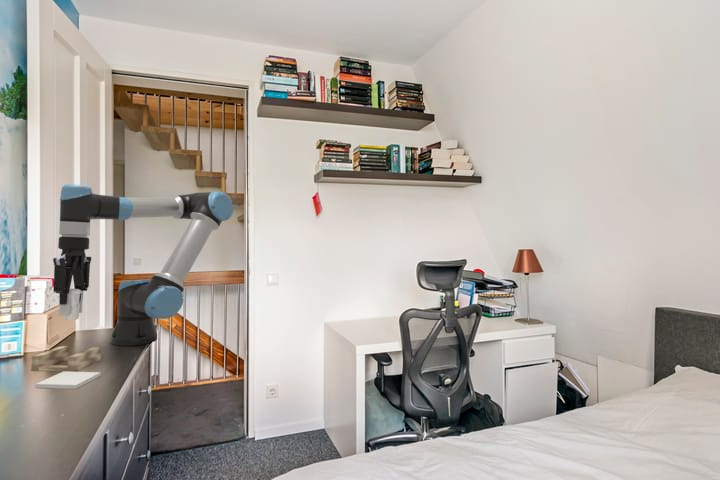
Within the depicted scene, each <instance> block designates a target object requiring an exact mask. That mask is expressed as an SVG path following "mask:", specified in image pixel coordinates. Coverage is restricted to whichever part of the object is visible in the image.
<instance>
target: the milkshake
mask: <svg viewBox="0 0 720 480" xmlns="http://www.w3.org/2000/svg"><path fill="white" fill-rule="evenodd" d="M69 293H71V312H70V316H64V317H65V320H66V321H74V320H75V321H76V320H79V319H80V313H79V312H80V303H81V296H82V291H81V290H79V289H74V288H70V291H69Z"/></svg>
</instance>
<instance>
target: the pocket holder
mask: <svg viewBox="0 0 720 480" xmlns="http://www.w3.org/2000/svg"><path fill="white" fill-rule="evenodd" d="M69 348H70V347H69V345H60V346H57V347H54V348H52V349H49V350H46V351H43V352H41V353H39V354H35V355H32V356H31V368H30V370H31V371H34V372H35V371H36V372H37V371H38V372H39V371H40V372H63V371H67V372H78V371H79V370H81V369H83V368H85V367H88V366H89V365H92V364H94V363H97V362H98V361H101V359H102V358H101V357H102V356H101V355H102V354H101V353H102V346H93V347H90V348H88V349H86V350H83V351H80V352H78V353H75V354H72V355H69V351H70V350H69ZM63 361H65V362H67V365H58V363H60V362H63Z"/></svg>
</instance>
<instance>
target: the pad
mask: <svg viewBox="0 0 720 480" xmlns="http://www.w3.org/2000/svg"><path fill="white" fill-rule="evenodd" d="M101 374H102V373H101V372H97V371H92V372H91V371H75V372H67V371H60V372H59V373H57V374H55V375H52V376H50V377H48V378H46V379H44V380H41V381H39V382H37V383H35V388H34V389H55V390H56V389H59V390H60V389H61V390H63V389H64V390H66V389H67V390H77V389H78V388H80V387H83V386H84V385H86V384H88V383H90V382H92V381H93V380H96V379H98V378H99V377H101Z"/></svg>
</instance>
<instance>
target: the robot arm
mask: <svg viewBox="0 0 720 480" xmlns="http://www.w3.org/2000/svg"><path fill="white" fill-rule="evenodd" d="M60 190H61V191H60V198H59V227H58V228H59V229H58V230H59V231H58V234H59V235H60V236H59V237H58V246H57V248H58V249H59V250H61V253H60V256H59V257H53V258H52V259H53V260H52V262H53V267H54V269H53V271H54V273H53V292H54V293H55V294H59V310H58V314H59V316H61V317H62V316H63V317H65V316H70V312H71V293H69V291H70V289H71V284H72V282H73V289H79V290H81V291H82V296H81V303H80V312H79V314H80V313H83V300H84V292H87V291H88V288H90V284H89V283H90V270H91V269H90V268H91V262H92V256H87V255H86V251H85V250H87V251H88V249H90V238H89V236H90V235H91V233H90V232H91V220H117V221H127V220H129V219H133V218H135V219H138V218H164V217H165V218H167V217H172V218H173V219H176V220H179V219H181V220H183V219H185V220H191V221H190V222H189V224H188V226H187V228H186V229H185V231H184V232H183V234H182V236H181V237H180V238H179V241H178V243H177V244H176V246H175V248H174V249H173V251H172V252H171V254H170V256H169V258H168V260H166V262H165V264H164V266H163V267H162V269H161V271H160V272H159V273H156V274H153V275H152V277H151V278H149V279H147V278H145V279H132V280H130V279H129V280H123V281H120V283H119V286H118V297H117V298H118V299H117V300H118V302H117V304H118V305H117V321H116V324H115V326H114V329H113V332H112V334H111V337H110V344H112V345H115V346H122V347H123V346H125V347H127V346H130V347H132V346H139V345H140V346H141V345H142V346H143V345H148V344H151V343H154V342H156V341H157V340H158V332H157V329H156V325H155V322H154V319H157V320H163V319H164V320H166V319H169V318H172V317H174V316H175V315H176V314H178V313H179V311H180V310H181V309H182V306H183V303H184V295H183V292H184V291H185V286H184V284H183V283H184V282H185V280H186V278H187V276H188V274H189V273H190V271H191V269H192V267H193V266H194V264H195V262H196V260H197V258H198V257H199V255H200V254H201V252H202V250H203V248H204V246H205V244H206V243H207V241H208V239H209V237H210V235H211V233H212V232H213V231H216V230H218V229H219V228H220V226H221V224H222V222H226V221H227V220H229V219H231V217H232V216H233V213H234V205H233V200H232V199H231V197H230V196H229V195H228V194H227V193H225V192H224V191H223V192H222V191H217V190H216V191H215V190H213V191H209V192H208V191H205V192H194V193H189V194H187V193H186V194H174V195H172V196H171V197H137V196H136V197H135V196H134V197H127V196H126V197H122V196H115V195H114V196H113V195H104V194H96V193H93V191H92V188H91V186H88V185H83V184H81V185H80V184H74V183H73V184H69V183H68V184H67V183H66V184H64V185H63V186H62V187H61V189H60ZM72 280H73V281H72Z"/></svg>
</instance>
